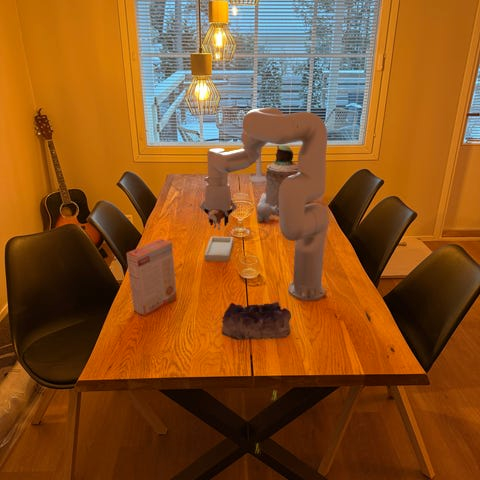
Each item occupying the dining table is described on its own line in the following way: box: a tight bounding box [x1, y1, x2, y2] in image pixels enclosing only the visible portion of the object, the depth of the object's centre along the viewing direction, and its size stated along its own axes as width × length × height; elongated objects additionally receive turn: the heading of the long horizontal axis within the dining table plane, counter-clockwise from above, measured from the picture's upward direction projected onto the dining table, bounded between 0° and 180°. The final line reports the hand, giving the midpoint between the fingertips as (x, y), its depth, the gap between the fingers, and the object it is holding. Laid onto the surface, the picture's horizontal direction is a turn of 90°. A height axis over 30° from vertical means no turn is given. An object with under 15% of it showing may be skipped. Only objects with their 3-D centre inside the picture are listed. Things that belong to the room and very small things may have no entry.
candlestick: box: [248, 154, 267, 184], centre depth 276 cm, size 13×13×30 cm
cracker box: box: [125, 238, 178, 317], centre depth 140 cm, size 14×6×21 cm, turn 141°
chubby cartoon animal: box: [256, 203, 279, 223], centre depth 213 cm, size 8×12×9 cm, turn 89°
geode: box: [221, 301, 292, 340], centre depth 129 cm, size 20×12×10 cm, turn 97°
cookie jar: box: [257, 144, 298, 208], centre depth 232 cm, size 25×25×32 cm
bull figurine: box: [206, 210, 225, 230], centre depth 176 cm, size 4×13×8 cm, turn 157°
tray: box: [204, 236, 234, 262], centre depth 182 cm, size 19×10×2 cm, turn 176°
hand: (218, 224), depth 178 cm, fingers closed on bull figurine, 5 cm apart
